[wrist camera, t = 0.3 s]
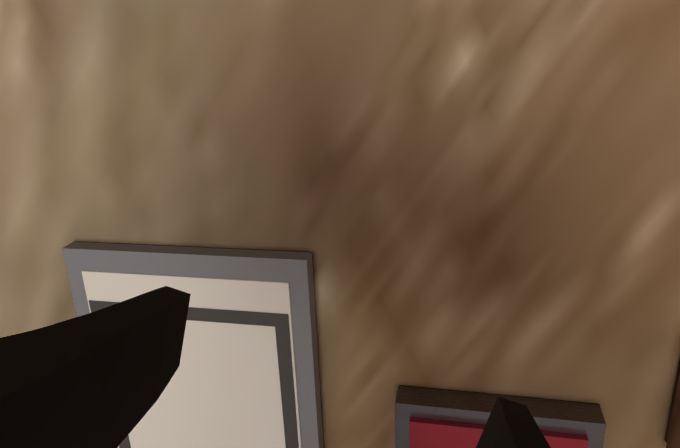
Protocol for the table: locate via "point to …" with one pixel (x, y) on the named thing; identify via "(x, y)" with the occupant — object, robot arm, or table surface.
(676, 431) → the stamp
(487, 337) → the table surface
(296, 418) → the grey white rectangular board
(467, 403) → the ink pad
